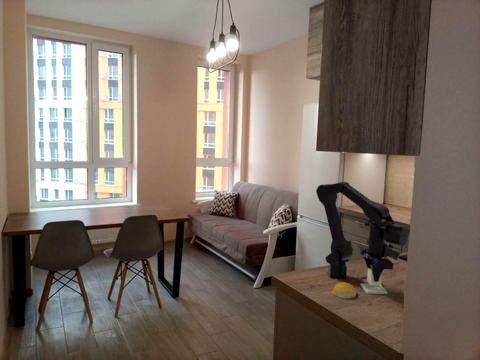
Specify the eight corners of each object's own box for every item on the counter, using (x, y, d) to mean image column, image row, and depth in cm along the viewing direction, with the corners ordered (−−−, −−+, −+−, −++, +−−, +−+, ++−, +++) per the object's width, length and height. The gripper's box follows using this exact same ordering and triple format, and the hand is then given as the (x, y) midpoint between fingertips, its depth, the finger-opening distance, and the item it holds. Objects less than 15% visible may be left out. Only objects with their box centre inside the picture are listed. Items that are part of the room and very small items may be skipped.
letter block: (370, 284, 133) (371, 271, 132) (366, 280, 137) (367, 268, 136) (381, 285, 133) (382, 272, 132) (377, 281, 137) (378, 268, 136)
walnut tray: (363, 285, 139) (364, 282, 139) (357, 278, 147) (357, 276, 147) (382, 286, 139) (382, 283, 139) (375, 279, 147) (375, 276, 147)
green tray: (367, 294, 131) (367, 291, 131) (360, 286, 139) (360, 283, 139) (387, 294, 131) (387, 291, 131) (379, 287, 139) (379, 284, 139)
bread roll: (330, 297, 129) (330, 286, 128) (335, 288, 137) (335, 278, 136) (354, 302, 125) (354, 291, 125) (357, 293, 133) (358, 282, 133)
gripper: (410, 247, 124) (406, 290, 125) (388, 233, 142) (385, 271, 144) (378, 246, 124) (375, 289, 125) (360, 232, 142) (357, 270, 144)
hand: (374, 279), depth 135 cm, fingers closed on letter block, 4 cm apart
